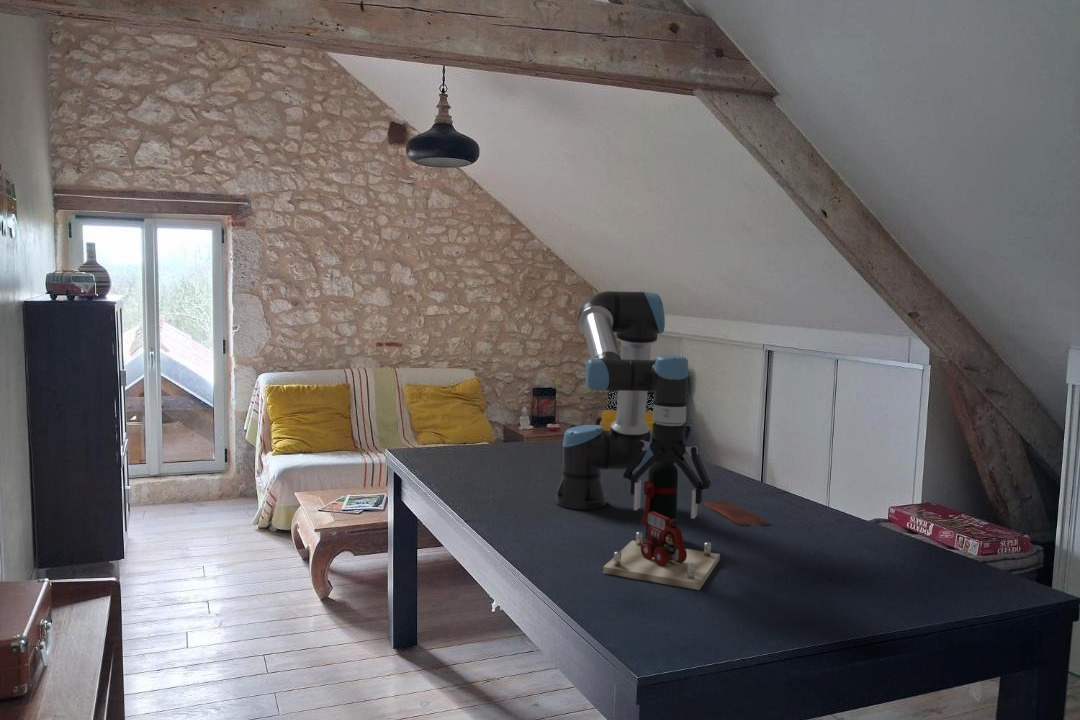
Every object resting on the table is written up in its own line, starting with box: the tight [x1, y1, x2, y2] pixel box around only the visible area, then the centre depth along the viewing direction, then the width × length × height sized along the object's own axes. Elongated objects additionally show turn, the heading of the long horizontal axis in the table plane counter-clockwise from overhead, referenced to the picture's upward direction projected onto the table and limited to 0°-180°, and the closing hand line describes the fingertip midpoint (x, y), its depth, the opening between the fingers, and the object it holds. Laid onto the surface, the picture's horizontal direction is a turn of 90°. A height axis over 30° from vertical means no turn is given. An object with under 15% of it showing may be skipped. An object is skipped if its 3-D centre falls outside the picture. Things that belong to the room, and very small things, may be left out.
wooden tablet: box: [703, 499, 771, 527], centre depth 238 cm, size 27×10×2 cm, turn 14°
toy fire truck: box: [641, 512, 687, 566], centre depth 189 cm, size 7×12×10 cm, turn 29°
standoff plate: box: [602, 531, 721, 591], centre depth 190 cm, size 22×22×4 cm
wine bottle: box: [640, 461, 679, 540], centre depth 210 cm, size 8×10×30 cm
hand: (665, 512), depth 189 cm, fingers open, 13 cm apart
